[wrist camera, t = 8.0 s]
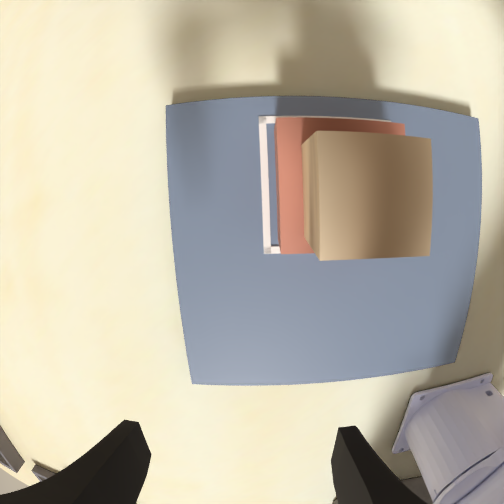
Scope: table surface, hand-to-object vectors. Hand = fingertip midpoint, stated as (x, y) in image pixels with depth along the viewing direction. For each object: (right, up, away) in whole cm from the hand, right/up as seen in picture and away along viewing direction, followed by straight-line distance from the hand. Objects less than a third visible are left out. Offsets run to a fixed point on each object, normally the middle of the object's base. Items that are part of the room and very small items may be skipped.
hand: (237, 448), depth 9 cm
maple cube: (+5, +10, +4) cm, 11 cm away
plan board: (+6, +7, +9) cm, 13 cm away
